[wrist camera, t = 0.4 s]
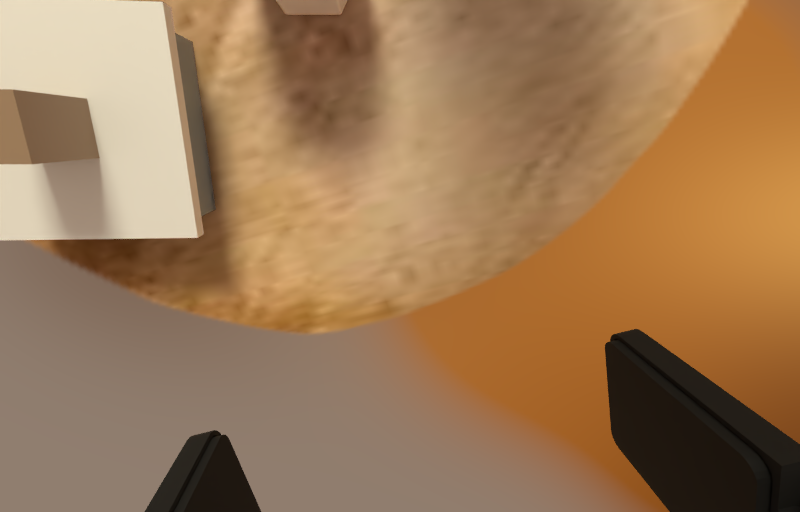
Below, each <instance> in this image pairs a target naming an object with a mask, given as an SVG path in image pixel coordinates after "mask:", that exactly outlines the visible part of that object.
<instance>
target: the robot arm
mask: <svg viewBox="0 0 800 512" xmlns="http://www.w3.org/2000/svg"><path fill="white" fill-rule="evenodd" d="M605 353H606V367H607V380H608V393H609V407H610V420H611V431H612V435H613V438H614V441H615V443H616V444H617V446H618V447H619V449H620V450H621V451H622V452H623V454H624V455H625V456H626V458H627V459H628V460H629V461H630V463H631V464H632V465H633V466H634V468H635V469H636V470H637V471H638V473H639V474H640V475H641V476H642V477H643V479H644V480H645V481H646V483H647V484H648V485H649V486H650V488H651V489H652V490H653V491H654V493H655V494H656V495H657V496H658V497H659V499H660V500H661V501H662V503H663V504H664V505H665V506H666V507H667V509H668V510H669V511H670V512H800V444H798V443H797V442H796V441H794V440H793V439H791V438H790V437H789V436H787V435H786V434H784V433H783V432H782V431H780V430H779V429H778V428H776V427H775V426H773V425H772V424H771V423H769V422H768V421H766V420H765V419H763V418H762V417H761V416H759V415H758V414H757V413H755V412H754V411H752V410H751V409H750V408H748V407H746V406H745V405H744V404H743V403H741V402H740V401H738V400H737V399H736V398H734V397H733V396H731V395H730V394H729V393H727V392H726V391H724V390H723V389H722V388H720V387H719V386H717V385H716V384H715V383H713V382H712V381H710V380H709V379H708V378H706V377H705V376H704V375H702V374H701V373H699V372H698V371H697V370H695V369H694V368H692V367H691V366H690V365H688V364H687V363H685V362H684V361H683V360H681V359H680V358H678V357H677V356H676V355H674V354H673V353H671V352H670V351H668V350H667V349H666V348H664V347H663V346H662V345H660V344H659V343H658V342H656V341H655V340H653V339H652V338H650V337H649V336H648V335H646V334H645V333H643V332H642V331H640V330H638V329H634V330H630V331H625V332H621V333H617V334H614V335H612V336H611V339H610V342H607V343H606V345H605ZM145 512H261V511H260V508H259V506H258V504H257V502H256V499H255V497H254V495H253V492H252V490H251V488H250V485H249V483H248V481H247V479H246V477H245V474H244V472H243V470H242V468H241V465H240V463H239V461H238V458H237V456H236V454H235V451H234V449H233V447H232V445H231V442H230V440H229V438H228V437H227V436H226V435H221V434H220V433H219V432H218V431H215V430H214V431H210V432H206V433H202V434H198V435H194V436H191V437H190V438H189V439H188V440H187V442H186V443H185V445H184V447H183V448H182V450H181V452H180V453H179V455H178V457H177V458H176V460H175V462H174V463H173V465H172V467H171V468H170V470H169V472H168V474H167V475H166V477H165V478H164V480H163V482H162V483H161V485H160V487H159V489H158V490H157V492H156V494H155V495H154V497H153V499H152V500H151V502H150V504H149V506H148V507H147V509H146V510H145Z"/></svg>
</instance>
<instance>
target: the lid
mask: <svg viewBox="0 0 800 512" xmlns="http://www.w3.org/2000/svg"><path fill="white" fill-rule="evenodd" d="M203 234H204V231H203V224H202V217H201V210H200V203H199V196H198V189H197V182H196V175H195V168H194V161H193V155H192V148H191V141H190V134H189V127H188V120H187V113H186V106H185V99H184V92H183V85H182V78H181V71H180V64H179V57H178V50H177V43H176V36H175V29H174V22H173V15H172V8H171V7H170V6H168V5H167V4H165V3H164V2H150V1H116V0H0V240H62V239H144V238H198V237H200V236H202V235H203Z"/></svg>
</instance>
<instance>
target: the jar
mask: <svg viewBox="0 0 800 512" xmlns="http://www.w3.org/2000/svg"><path fill="white" fill-rule="evenodd" d="M347 1H348V0H276V2H277V3H278V5H279V6H280V8H281V9H282V10H283V12H284V13H285V14H286V15H340V14H341V13H342V12H343V9H344V7H345V5H346V3H347Z"/></svg>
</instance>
